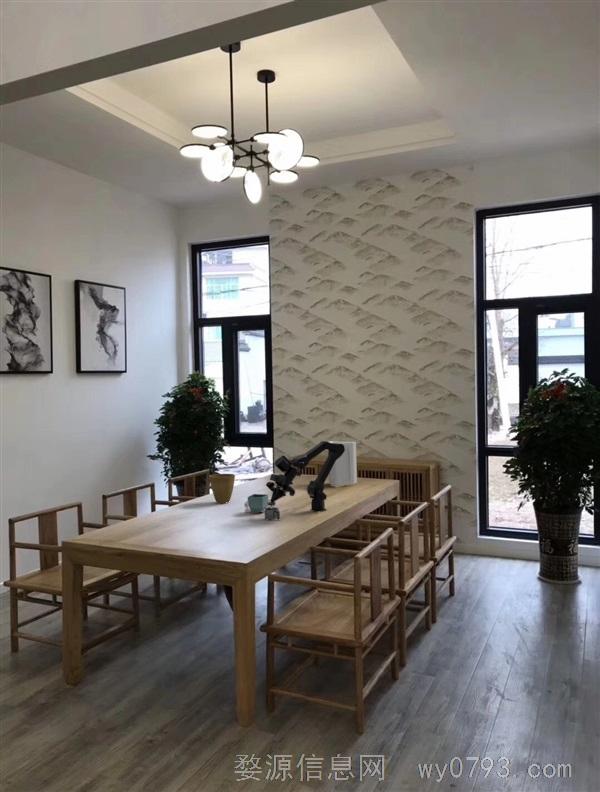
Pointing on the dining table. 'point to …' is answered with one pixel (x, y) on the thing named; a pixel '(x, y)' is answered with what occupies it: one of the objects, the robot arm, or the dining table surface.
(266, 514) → the grey octagonal mug
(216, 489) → the plant pot
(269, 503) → the dark round piece
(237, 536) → the dining table surface
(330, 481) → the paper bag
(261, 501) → the flower pot
